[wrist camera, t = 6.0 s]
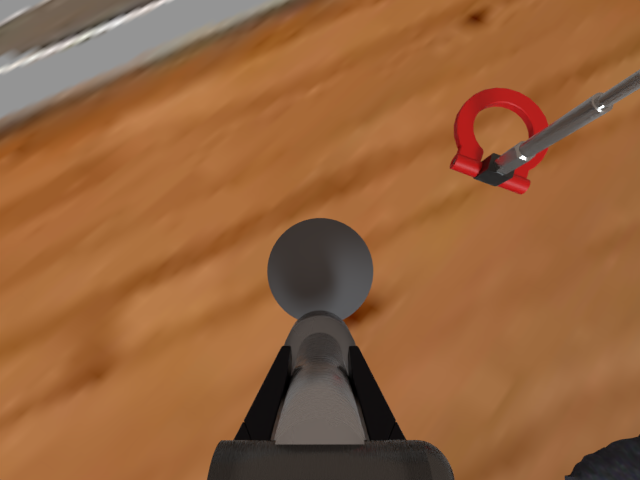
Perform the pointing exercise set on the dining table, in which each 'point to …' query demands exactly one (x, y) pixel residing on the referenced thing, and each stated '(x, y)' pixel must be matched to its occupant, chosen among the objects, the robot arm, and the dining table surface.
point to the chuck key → (324, 423)
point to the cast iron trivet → (610, 462)
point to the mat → (320, 268)
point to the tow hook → (529, 153)
